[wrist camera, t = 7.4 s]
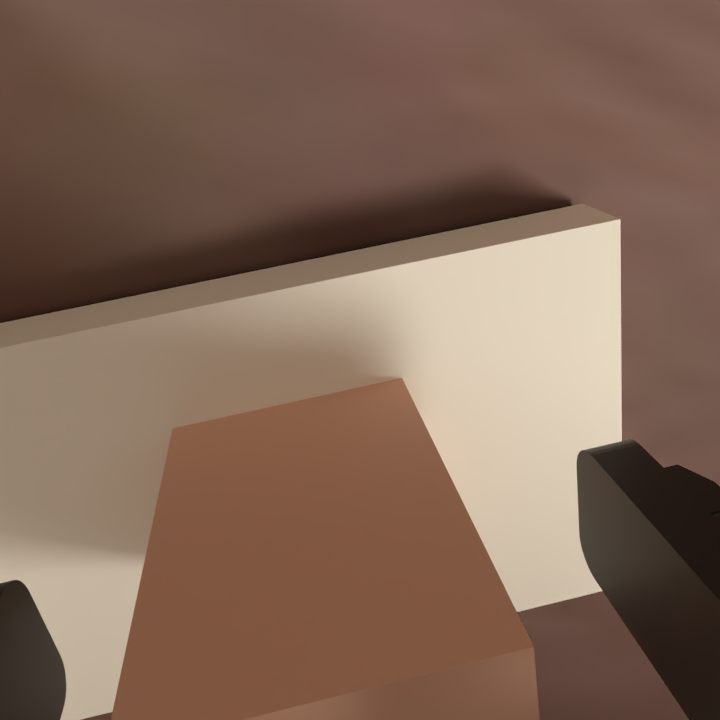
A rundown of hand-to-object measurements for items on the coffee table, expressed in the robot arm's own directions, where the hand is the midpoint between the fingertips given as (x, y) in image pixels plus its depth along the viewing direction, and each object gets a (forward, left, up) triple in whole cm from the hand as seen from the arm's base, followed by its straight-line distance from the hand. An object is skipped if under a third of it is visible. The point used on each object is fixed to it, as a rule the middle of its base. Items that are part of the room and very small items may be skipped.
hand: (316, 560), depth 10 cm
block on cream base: (0, +1, -4) cm, 4 cm away
